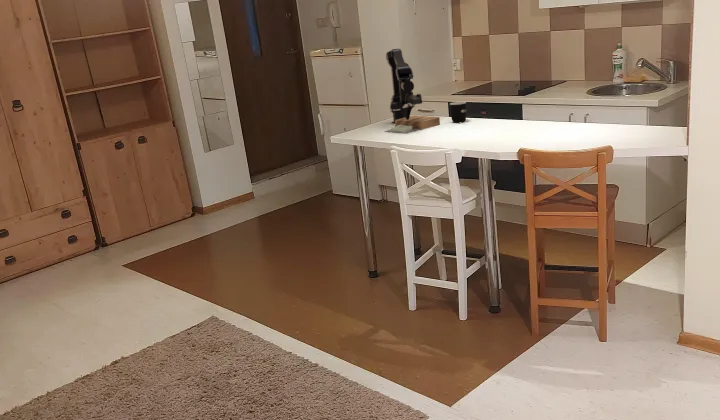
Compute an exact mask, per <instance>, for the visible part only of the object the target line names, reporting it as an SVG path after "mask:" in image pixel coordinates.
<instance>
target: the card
mask: <svg viewBox="0 0 720 420" xmlns="http://www.w3.org/2000/svg"><path fill="white" fill-rule="evenodd" d="M391 129H392V131H400V132H406V131H409V130H412V126H407V125H398V126H391Z"/></svg>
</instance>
